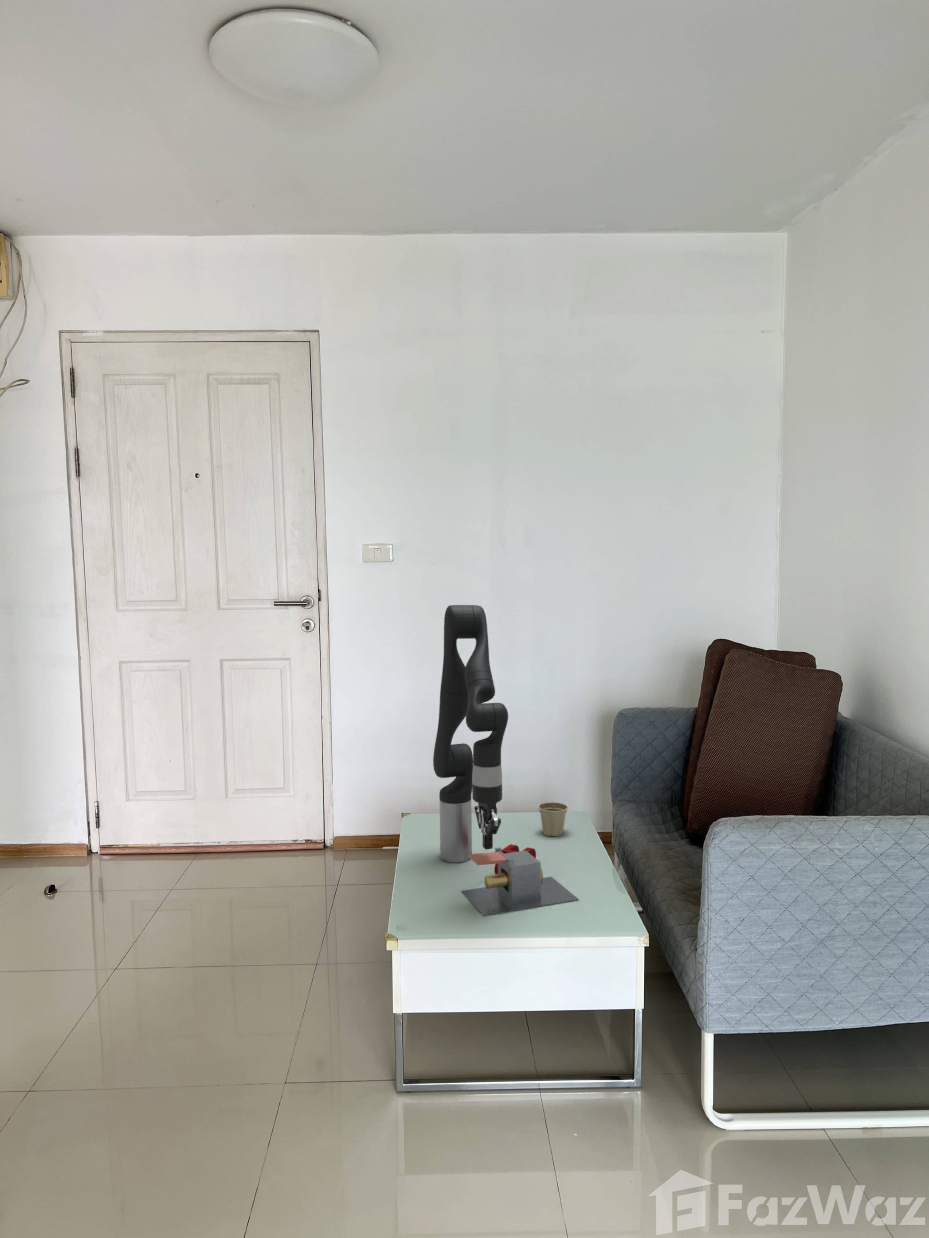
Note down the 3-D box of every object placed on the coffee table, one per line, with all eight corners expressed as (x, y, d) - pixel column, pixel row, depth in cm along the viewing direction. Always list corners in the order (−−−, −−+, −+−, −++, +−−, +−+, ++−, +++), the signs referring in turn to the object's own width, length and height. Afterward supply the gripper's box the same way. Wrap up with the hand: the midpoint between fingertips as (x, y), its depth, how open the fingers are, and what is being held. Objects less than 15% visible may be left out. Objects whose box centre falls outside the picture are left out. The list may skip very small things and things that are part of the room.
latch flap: (468, 856, 222) (468, 852, 222) (500, 854, 225) (501, 850, 225) (478, 866, 216) (478, 862, 215) (511, 863, 219) (511, 859, 219)
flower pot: (573, 831, 273) (573, 804, 272) (560, 840, 265) (560, 812, 264) (546, 826, 278) (546, 800, 277) (532, 835, 270) (532, 808, 269)
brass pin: (483, 888, 224) (482, 867, 223) (534, 880, 228) (533, 860, 228) (491, 897, 218) (490, 875, 218) (543, 888, 223) (543, 867, 223)
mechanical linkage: (513, 858, 251) (513, 841, 251) (536, 863, 247) (535, 846, 247) (486, 877, 237) (486, 859, 237) (510, 882, 234) (509, 864, 233)
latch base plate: (461, 891, 227) (460, 848, 226) (551, 877, 236) (551, 835, 235) (483, 916, 212) (483, 869, 211) (578, 900, 221) (578, 855, 220)
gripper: (511, 787, 213) (511, 855, 215) (491, 773, 226) (491, 837, 227) (482, 790, 211) (483, 859, 213) (464, 776, 223) (464, 841, 225)
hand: (487, 848), depth 220 cm, fingers closed
